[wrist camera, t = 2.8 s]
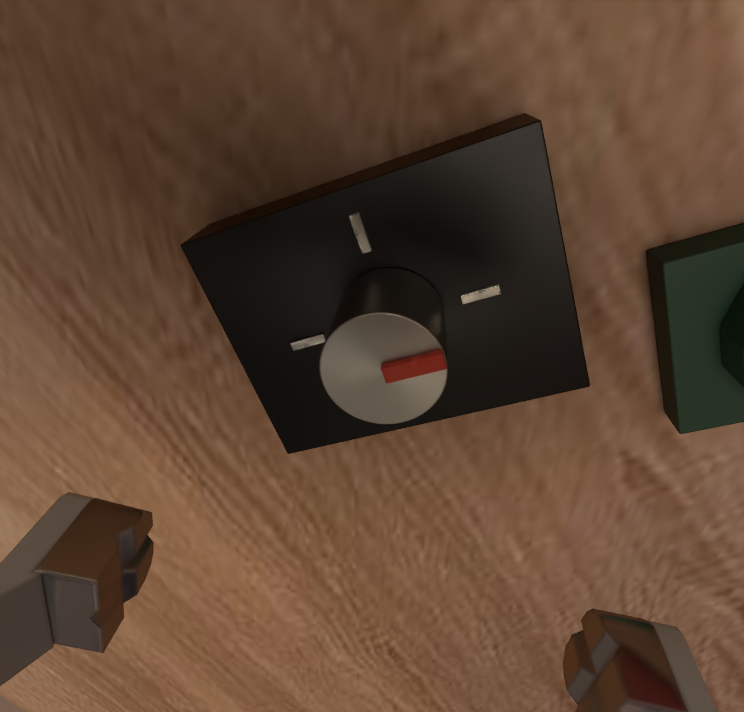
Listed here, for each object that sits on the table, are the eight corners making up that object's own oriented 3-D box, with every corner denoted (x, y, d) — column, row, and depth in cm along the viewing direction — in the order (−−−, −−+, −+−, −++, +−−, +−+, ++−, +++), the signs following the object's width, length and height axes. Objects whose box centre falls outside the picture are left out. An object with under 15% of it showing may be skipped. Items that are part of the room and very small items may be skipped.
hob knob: (359, 375, 21) (344, 441, 17) (322, 285, 19) (296, 337, 16) (456, 350, 20) (463, 414, 16) (427, 253, 18) (426, 300, 15)
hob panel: (301, 415, 26) (286, 456, 23) (209, 224, 22) (177, 246, 19) (572, 350, 23) (591, 389, 20) (525, 112, 19) (542, 120, 16)
